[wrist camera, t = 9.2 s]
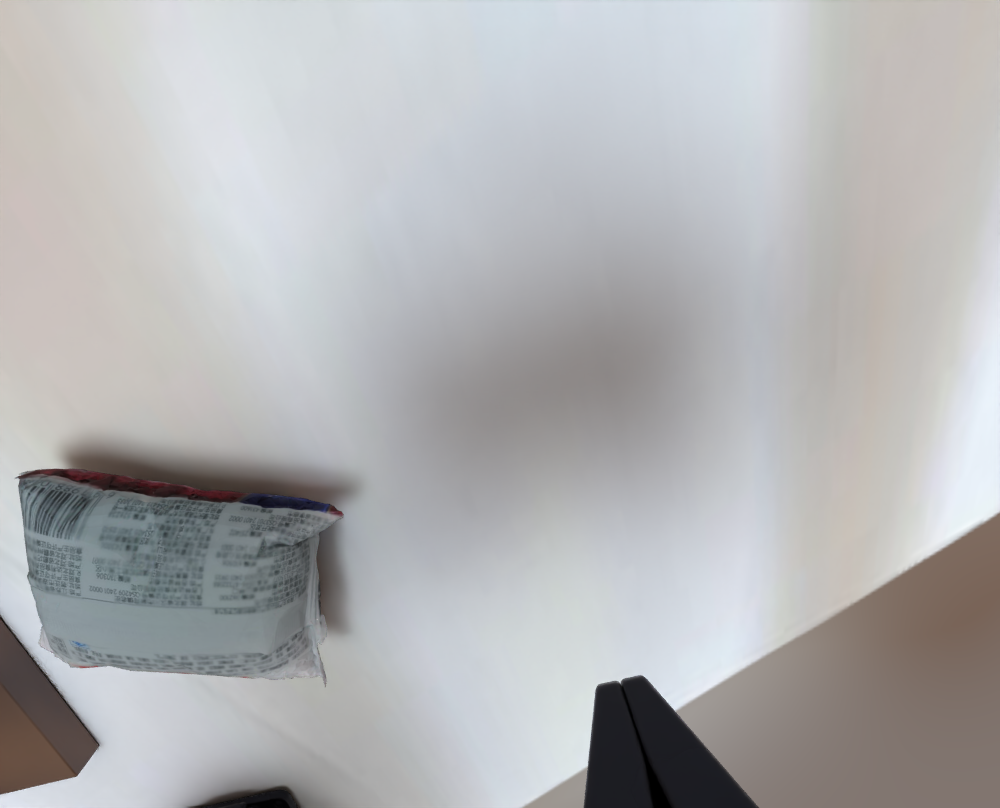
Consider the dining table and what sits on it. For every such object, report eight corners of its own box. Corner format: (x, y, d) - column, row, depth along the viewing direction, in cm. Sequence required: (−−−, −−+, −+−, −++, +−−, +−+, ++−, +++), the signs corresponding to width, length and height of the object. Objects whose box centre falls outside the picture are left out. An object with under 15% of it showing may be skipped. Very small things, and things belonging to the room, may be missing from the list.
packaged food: (340, 638, 23) (307, 738, 18) (75, 611, 22) (-33, 712, 17) (357, 478, 20) (324, 547, 16) (57, 436, 19) (-77, 498, 14)
